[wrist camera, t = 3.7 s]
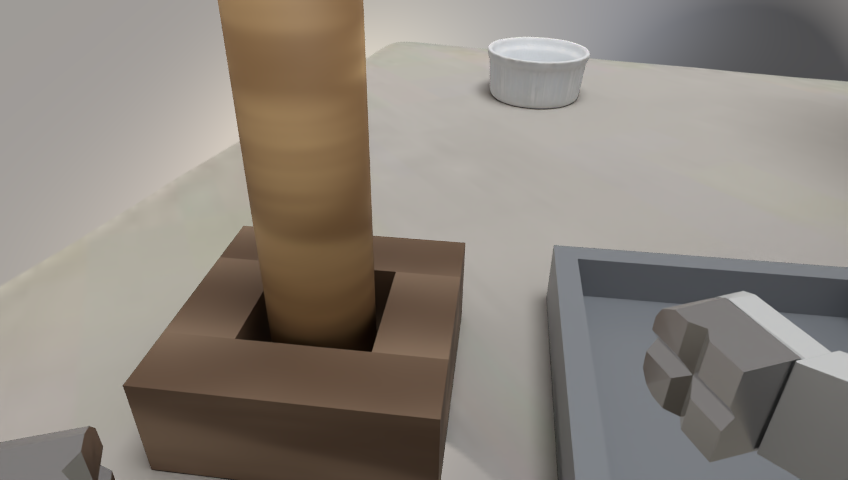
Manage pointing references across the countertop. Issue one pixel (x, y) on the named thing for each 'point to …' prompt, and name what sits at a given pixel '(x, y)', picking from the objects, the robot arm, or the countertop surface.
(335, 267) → the dowel
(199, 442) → the socket block
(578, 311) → the tray
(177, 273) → the countertop surface
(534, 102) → the ramekin
